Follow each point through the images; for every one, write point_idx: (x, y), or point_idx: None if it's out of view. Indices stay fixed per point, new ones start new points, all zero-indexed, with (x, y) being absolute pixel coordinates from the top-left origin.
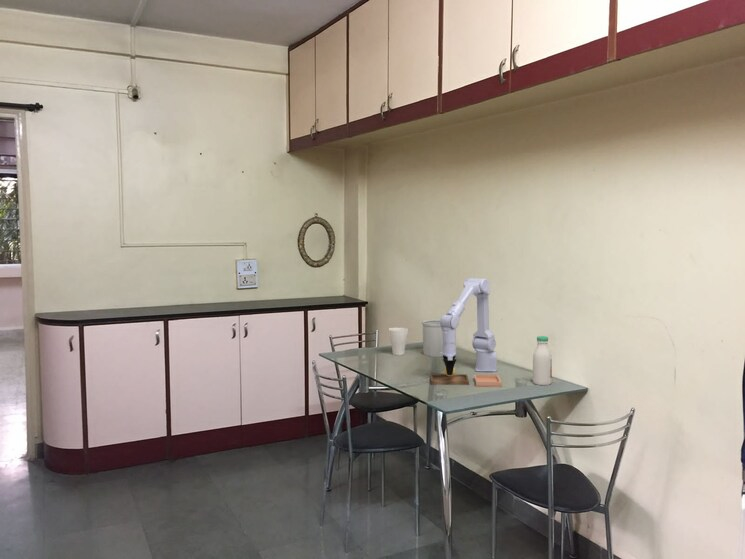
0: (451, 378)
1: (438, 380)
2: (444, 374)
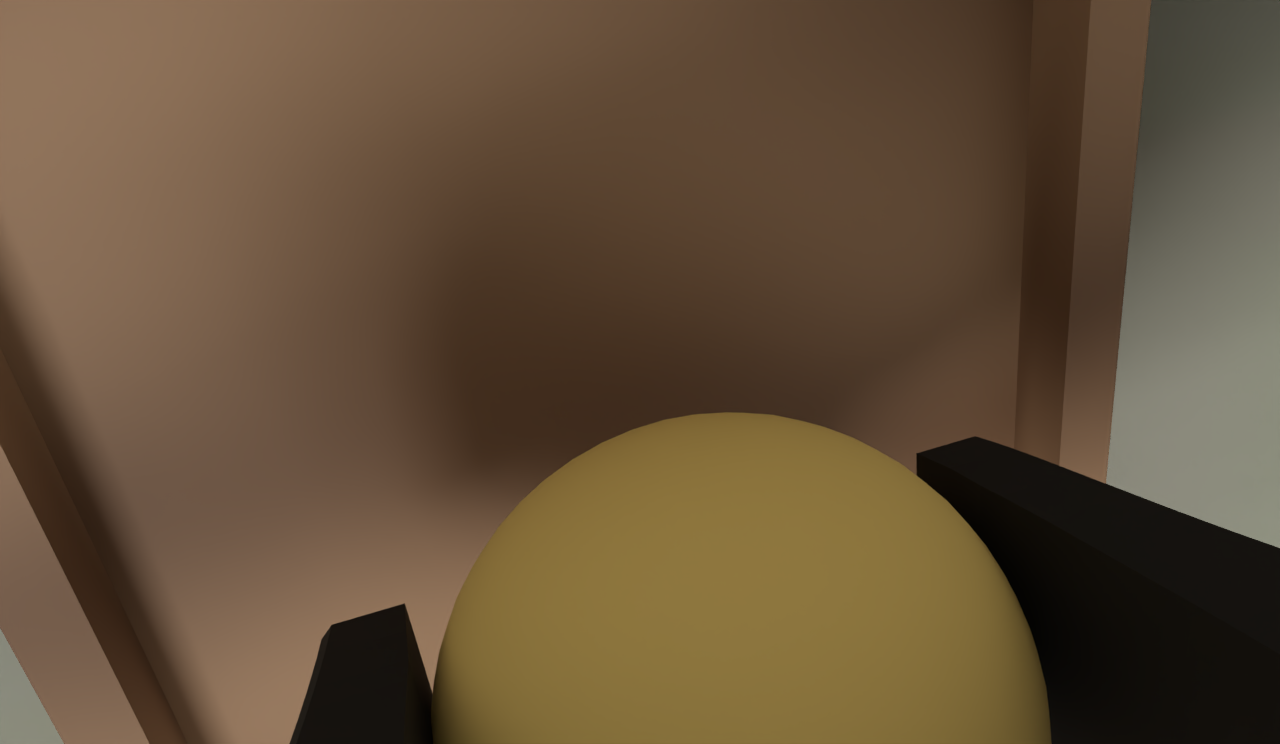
0: None
1: (359, 56)
2: (1105, 213)
